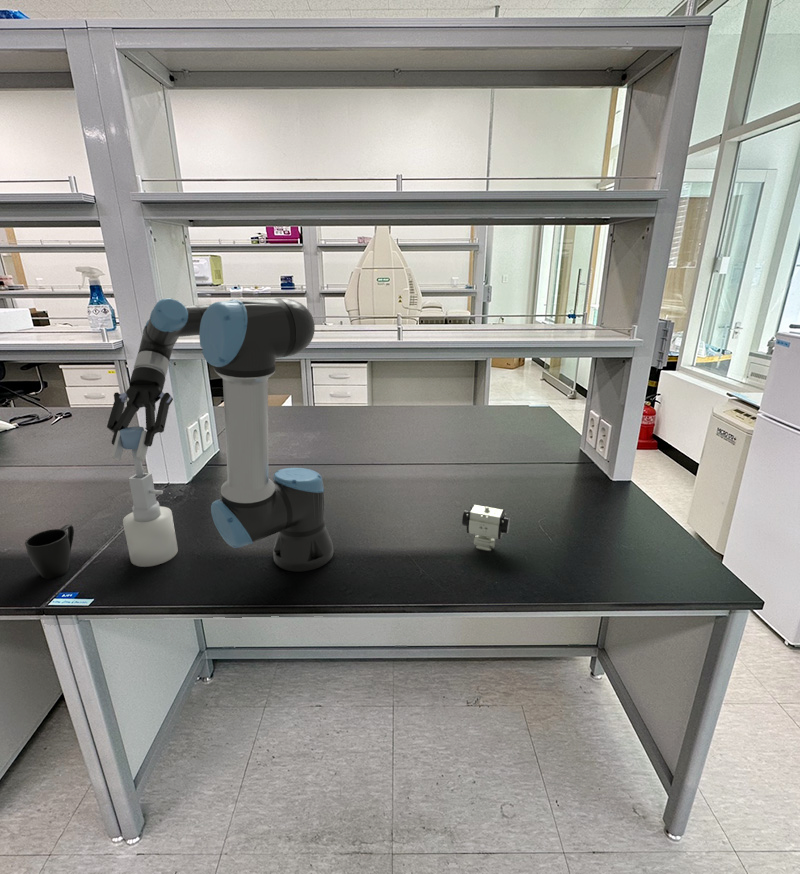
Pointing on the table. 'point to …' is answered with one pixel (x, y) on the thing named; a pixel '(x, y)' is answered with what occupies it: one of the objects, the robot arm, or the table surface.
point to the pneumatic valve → (485, 525)
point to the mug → (51, 551)
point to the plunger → (133, 445)
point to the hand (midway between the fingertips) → (128, 458)
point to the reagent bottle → (149, 525)
